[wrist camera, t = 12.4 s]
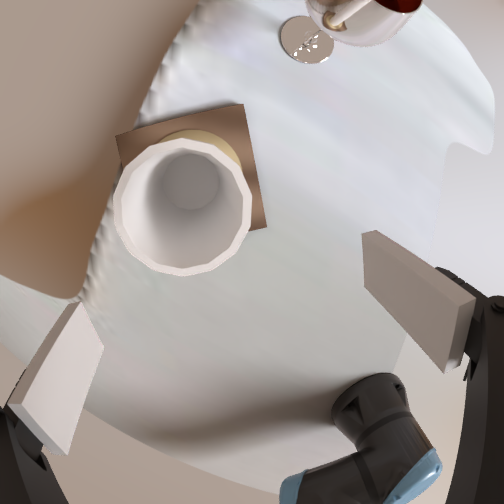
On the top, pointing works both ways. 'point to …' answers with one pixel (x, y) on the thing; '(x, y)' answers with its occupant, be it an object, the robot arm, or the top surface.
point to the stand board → (210, 131)
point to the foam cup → (182, 207)
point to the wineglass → (344, 26)
